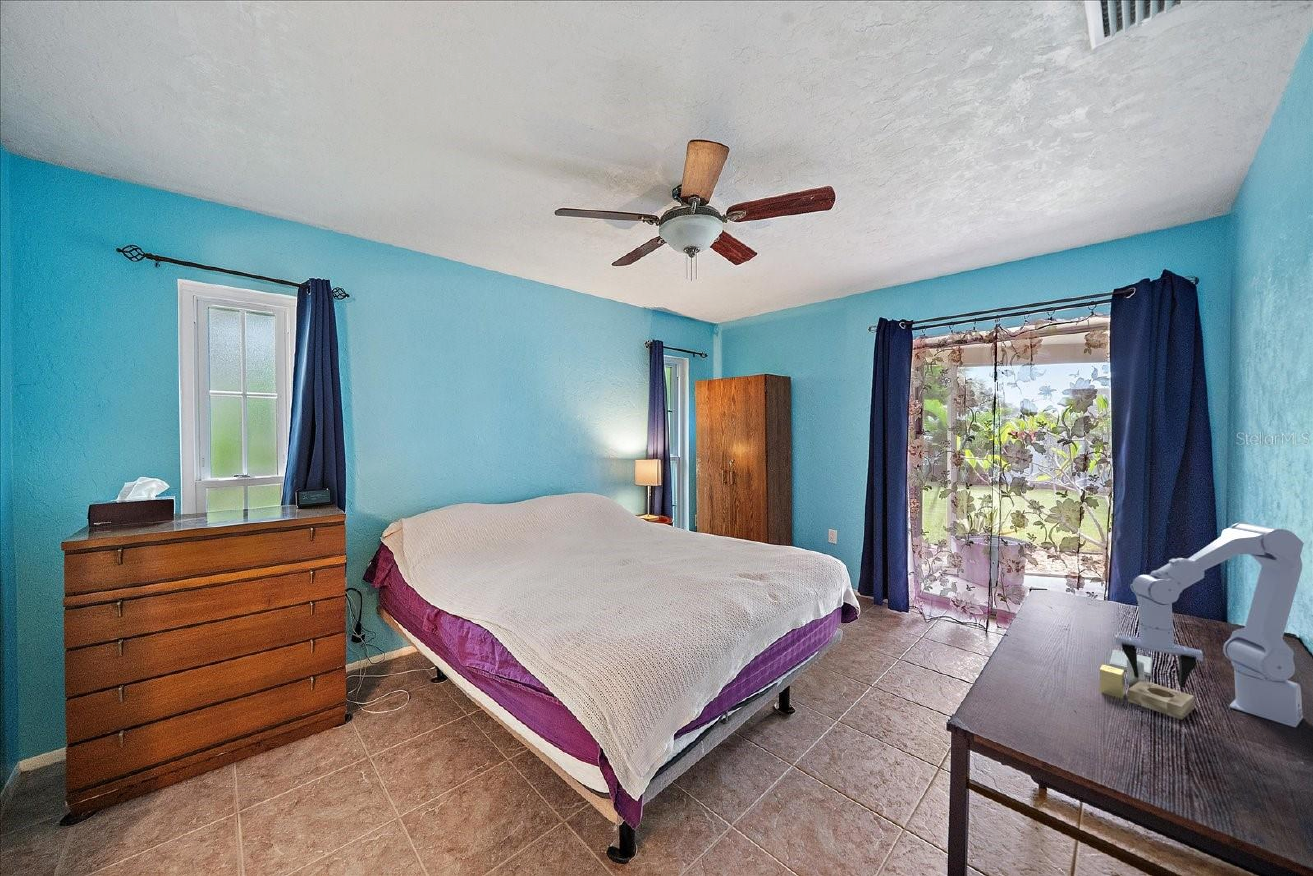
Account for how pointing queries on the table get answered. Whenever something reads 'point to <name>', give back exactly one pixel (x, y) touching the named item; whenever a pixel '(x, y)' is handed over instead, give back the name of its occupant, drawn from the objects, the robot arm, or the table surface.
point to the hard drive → (1120, 659)
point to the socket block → (1161, 699)
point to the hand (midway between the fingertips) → (1158, 680)
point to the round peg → (1130, 673)
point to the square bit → (1112, 681)
